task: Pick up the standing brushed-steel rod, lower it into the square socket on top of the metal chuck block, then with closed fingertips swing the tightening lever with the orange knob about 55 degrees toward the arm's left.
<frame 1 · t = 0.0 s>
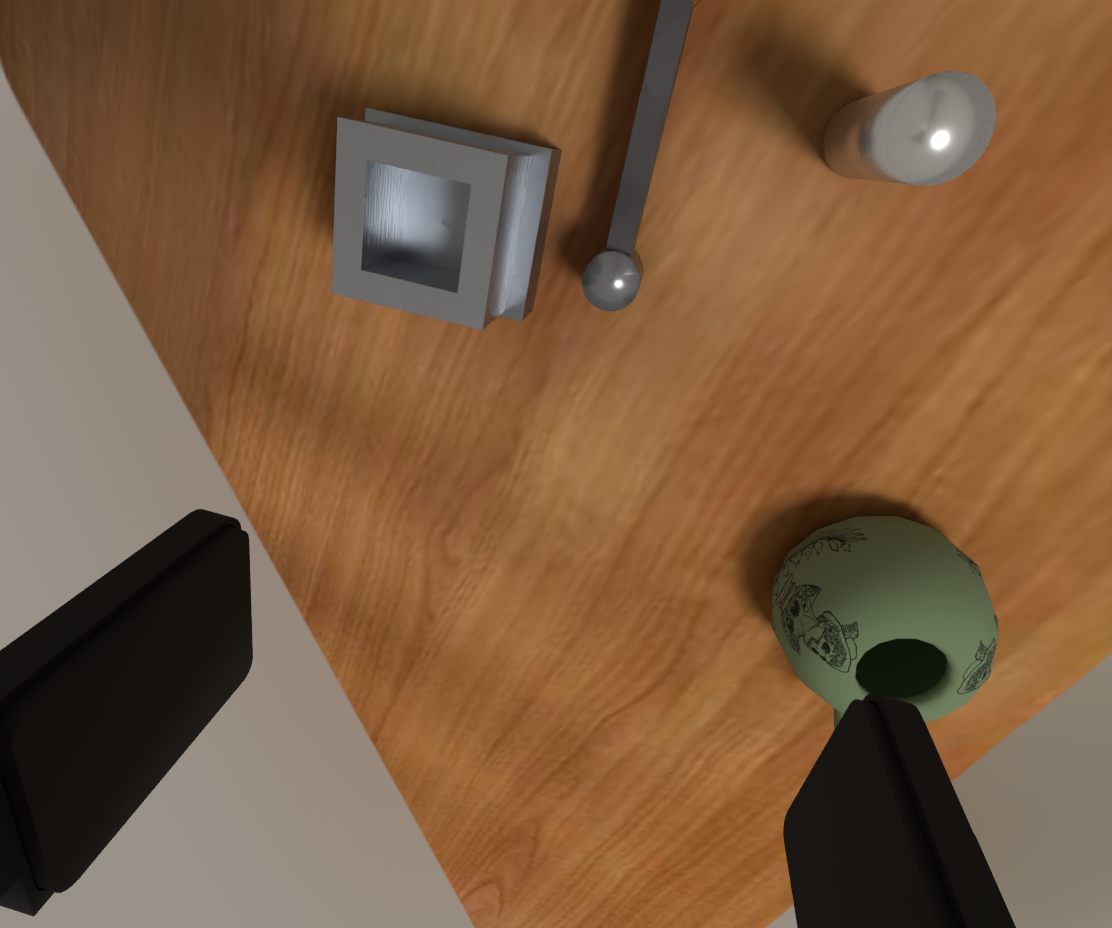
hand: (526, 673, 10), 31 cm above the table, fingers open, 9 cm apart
rod: (859, 139, 32), on the table
chuck block: (464, 215, 37), on the table
mug: (856, 601, 44), on the table
lever: (644, 145, 32), point 2 cm above the table, hinge at 0.0°
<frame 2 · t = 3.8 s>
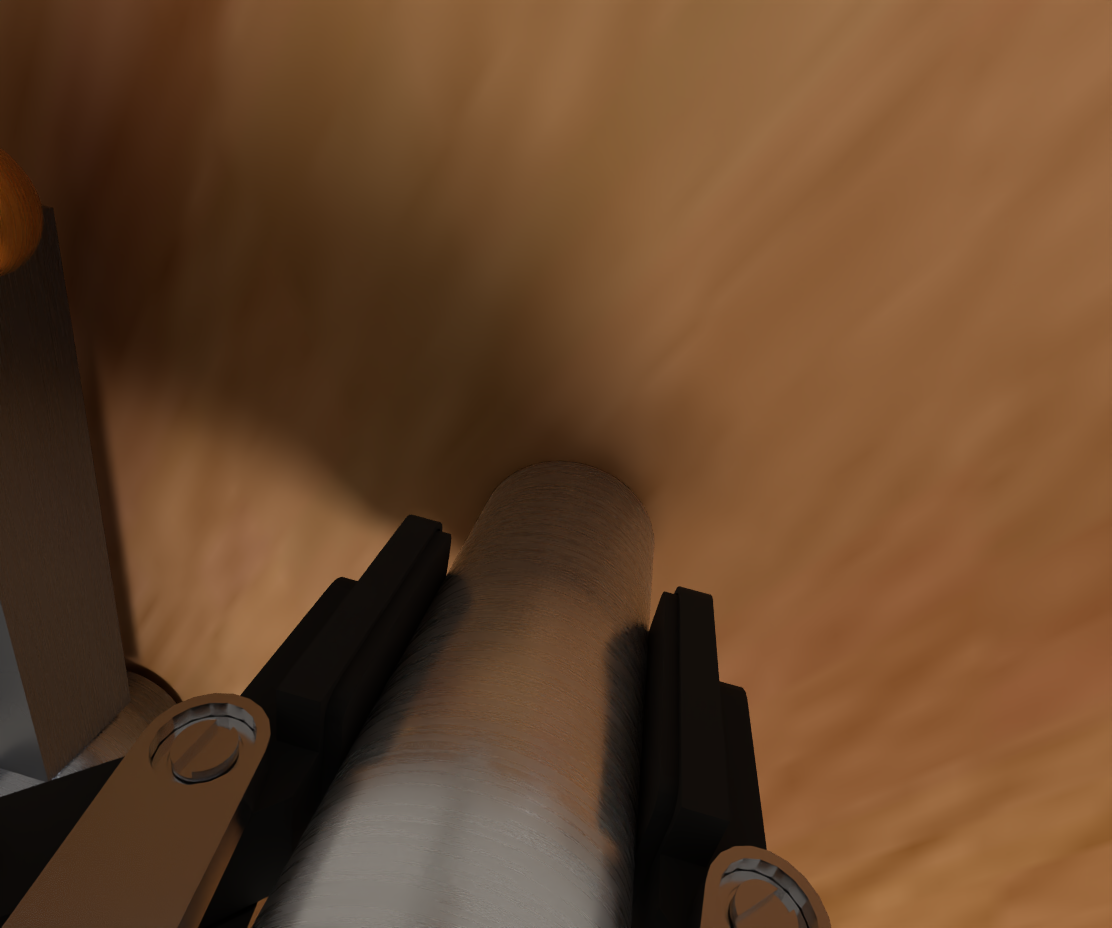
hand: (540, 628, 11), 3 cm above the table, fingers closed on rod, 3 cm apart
rod: (565, 540, 13), on the table, touching gripper
lever: (26, 561, 13), point 2 cm above the table, hinge at 0.0°
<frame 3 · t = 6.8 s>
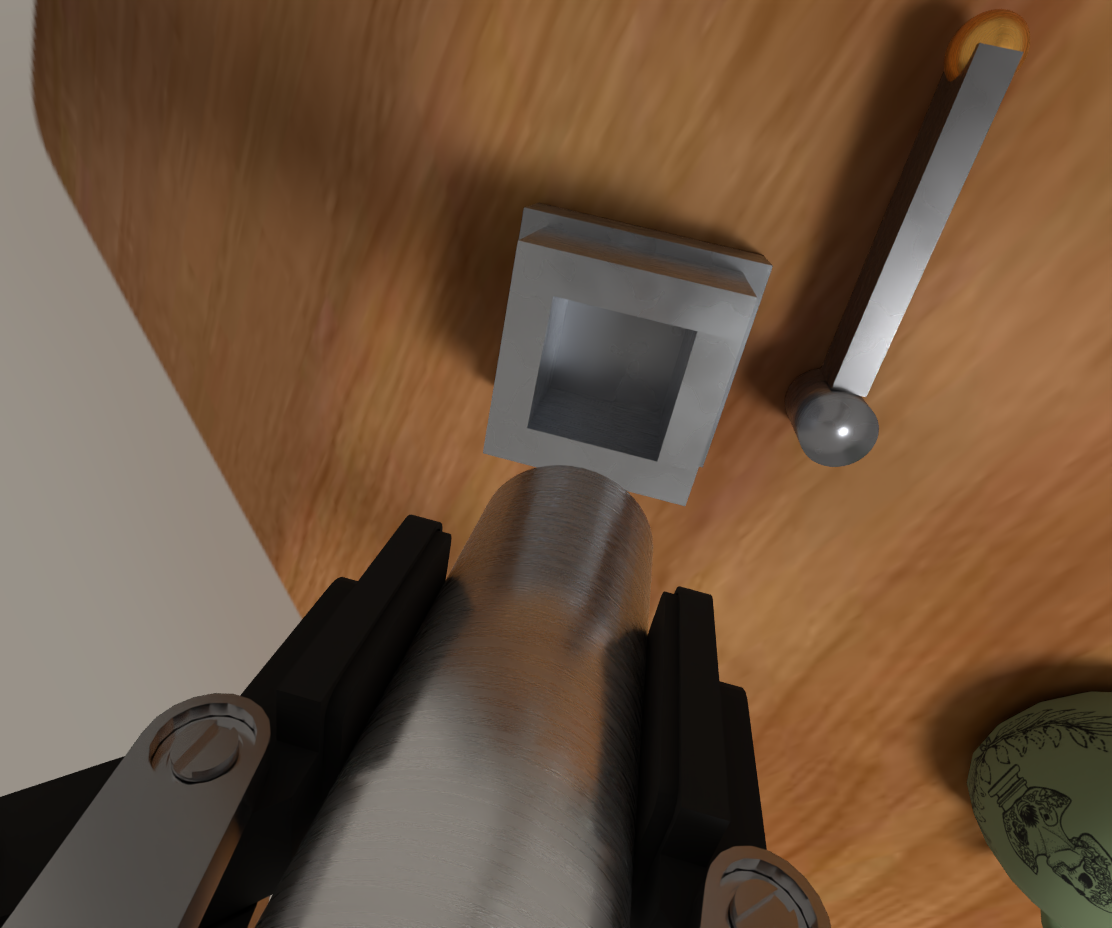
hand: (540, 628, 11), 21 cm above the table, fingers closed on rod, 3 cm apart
rod: (565, 543, 13), point 18 cm above the table, touching gripper
chuck block: (624, 328, 30), on the table
mug: (1067, 774, 37), on the table
lever: (895, 261, 24), point 2 cm above the table, hinge at 0.0°
when the fingers open (9 cm above the table, at t = 9.8 s): rod drops 3 cm, point 3 cm above the table.
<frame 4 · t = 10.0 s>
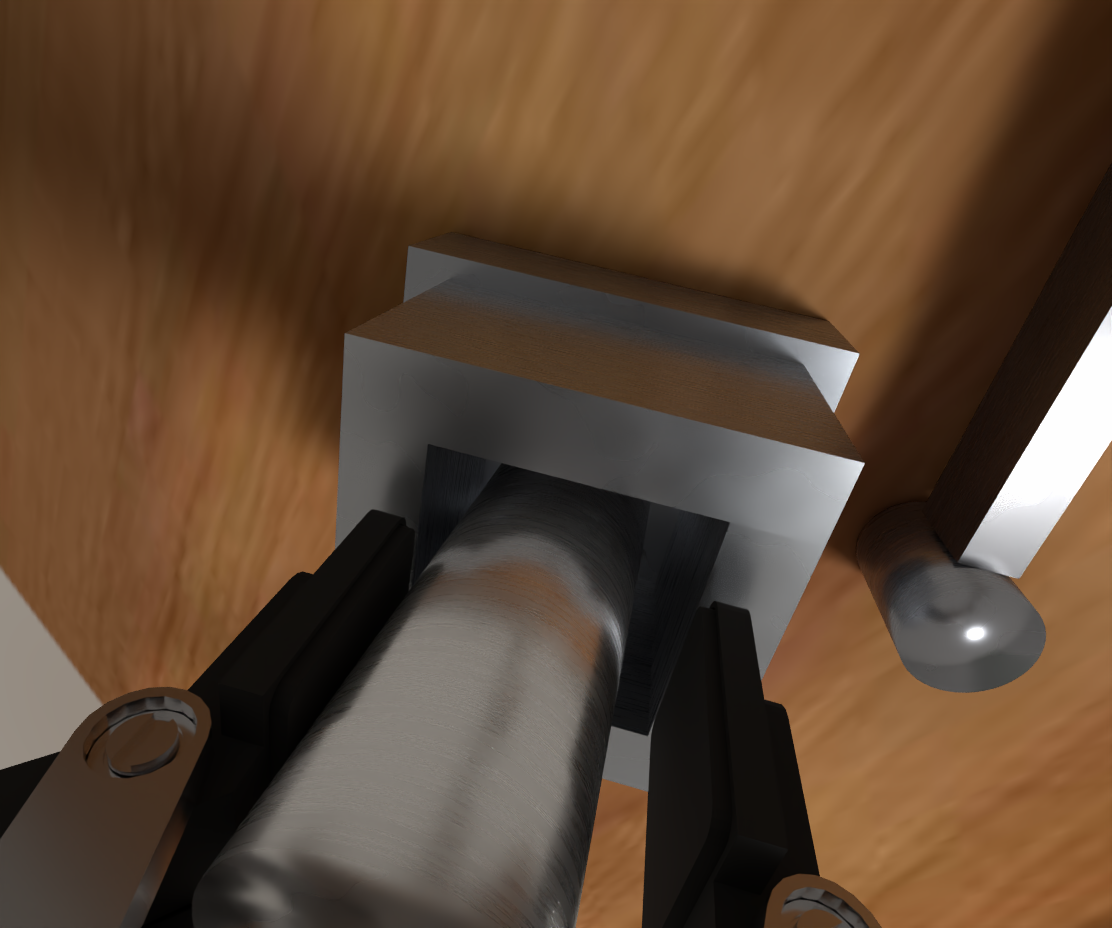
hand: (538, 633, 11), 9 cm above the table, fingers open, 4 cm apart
rod: (580, 478, 16), point 3 cm above the table, touching gripper
chuck block: (597, 431, 18), on the table
lever: (1085, 344, 13), point 2 cm above the table, hinge at 0.0°
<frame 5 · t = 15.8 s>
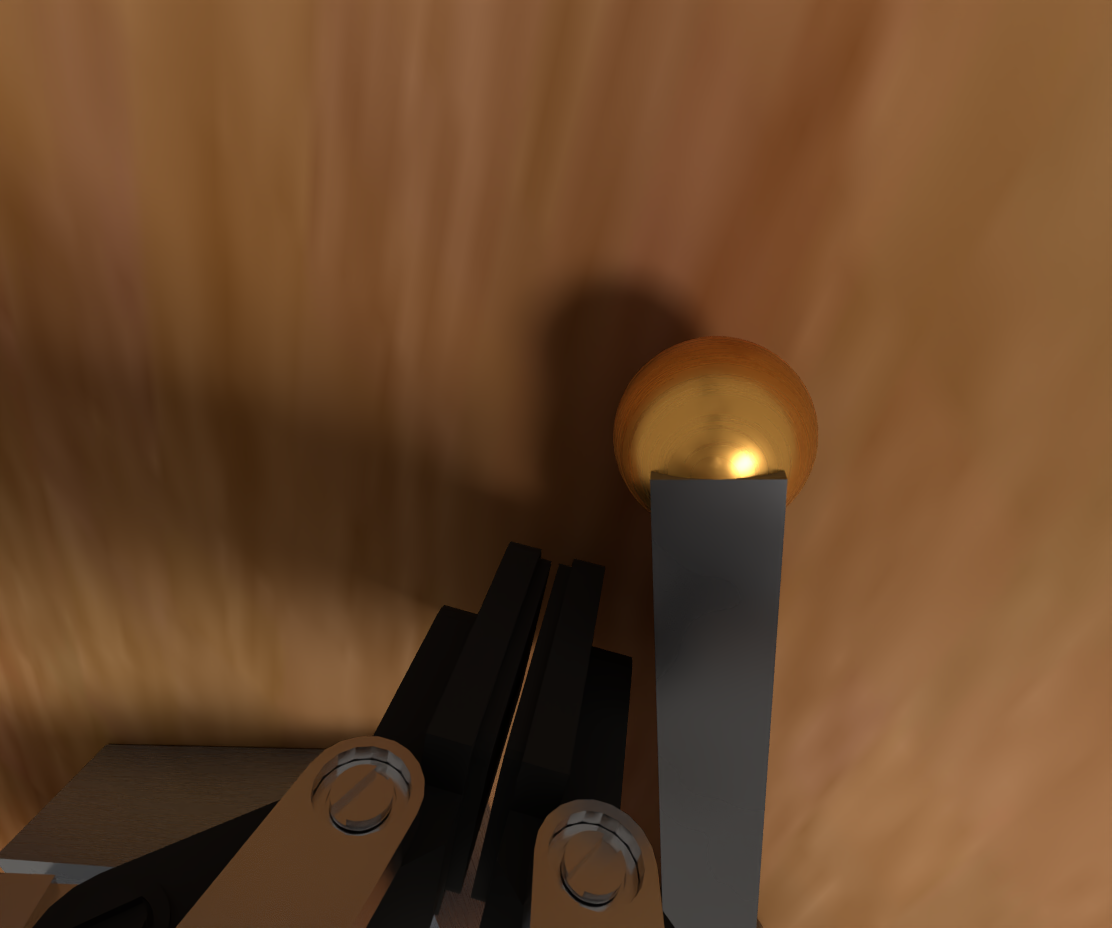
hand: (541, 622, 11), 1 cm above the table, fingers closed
chuck block: (333, 871, 17), on the table
lever: (706, 820, 11), point 2 cm above the table, hinge at 4.7°, touching gripper
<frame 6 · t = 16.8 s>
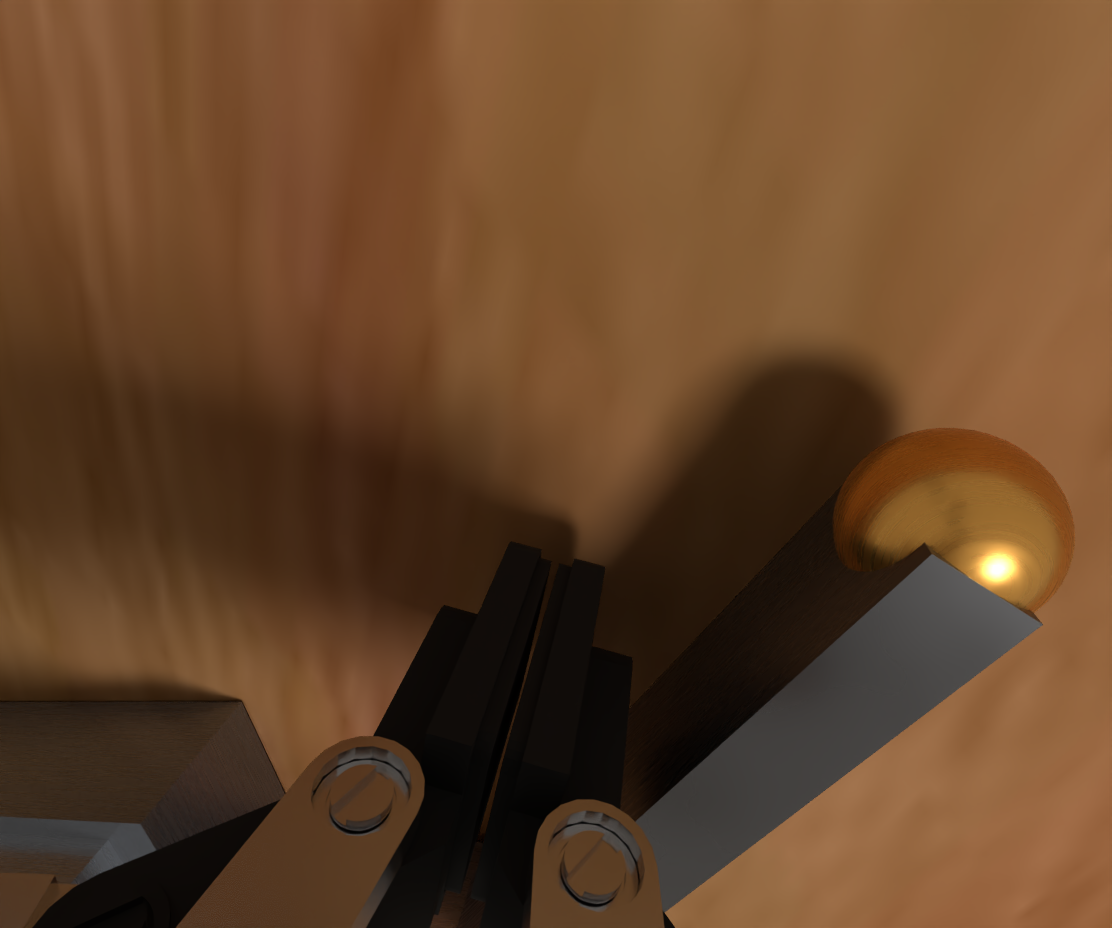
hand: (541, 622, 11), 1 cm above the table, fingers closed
chuck block: (143, 829, 17), on the table
lever: (623, 822, 11), point 2 cm above the table, hinge at 40.5°, touching gripper
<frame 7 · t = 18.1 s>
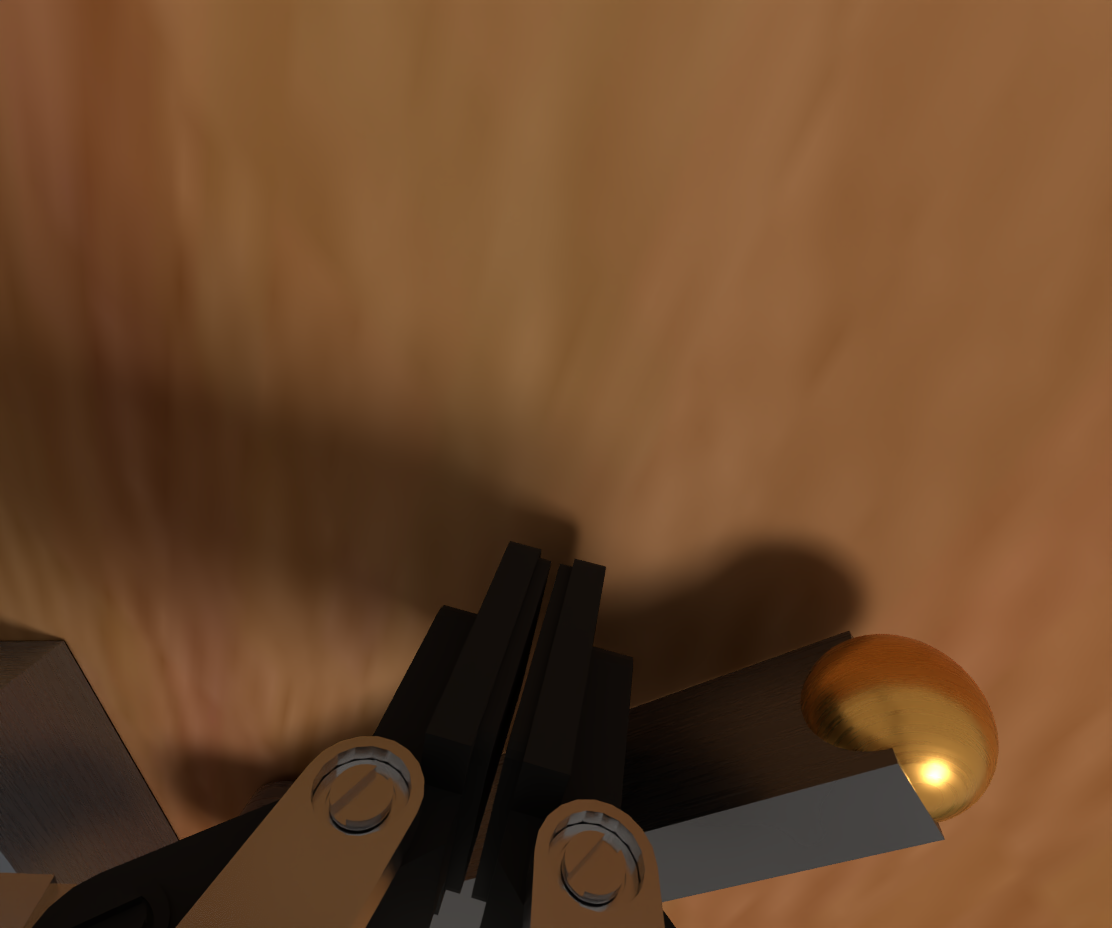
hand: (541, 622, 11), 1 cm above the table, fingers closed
lever: (499, 840, 11), point 2 cm above the table, hinge at 64.9°, touching gripper
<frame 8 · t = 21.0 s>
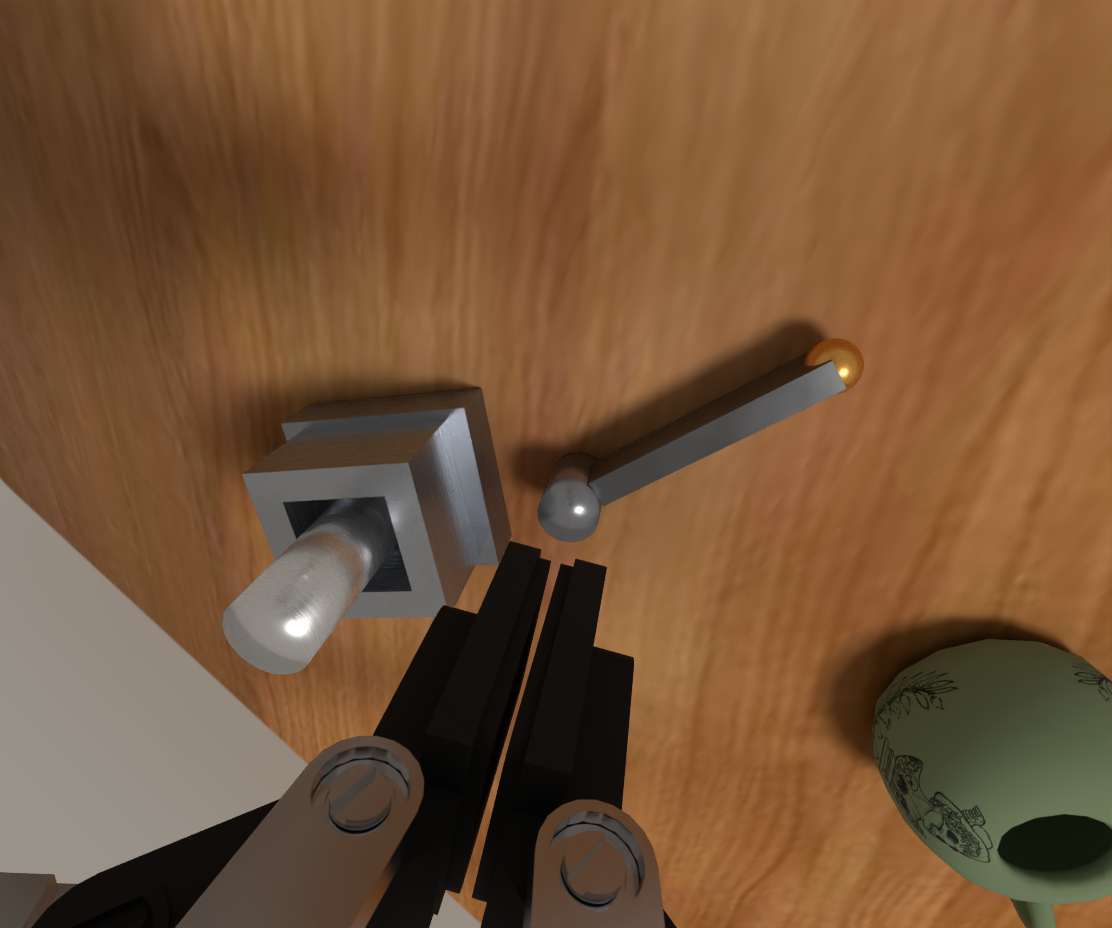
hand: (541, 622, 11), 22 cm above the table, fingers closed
rod: (389, 496, 33), point 3 cm above the table, touching chuck block
chuck block: (413, 470, 36), on the table
mug: (980, 726, 37), on the table
lever: (690, 438, 30), point 2 cm above the table, hinge at 65.2°
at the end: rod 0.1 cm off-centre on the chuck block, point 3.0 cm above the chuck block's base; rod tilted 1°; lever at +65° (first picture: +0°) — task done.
